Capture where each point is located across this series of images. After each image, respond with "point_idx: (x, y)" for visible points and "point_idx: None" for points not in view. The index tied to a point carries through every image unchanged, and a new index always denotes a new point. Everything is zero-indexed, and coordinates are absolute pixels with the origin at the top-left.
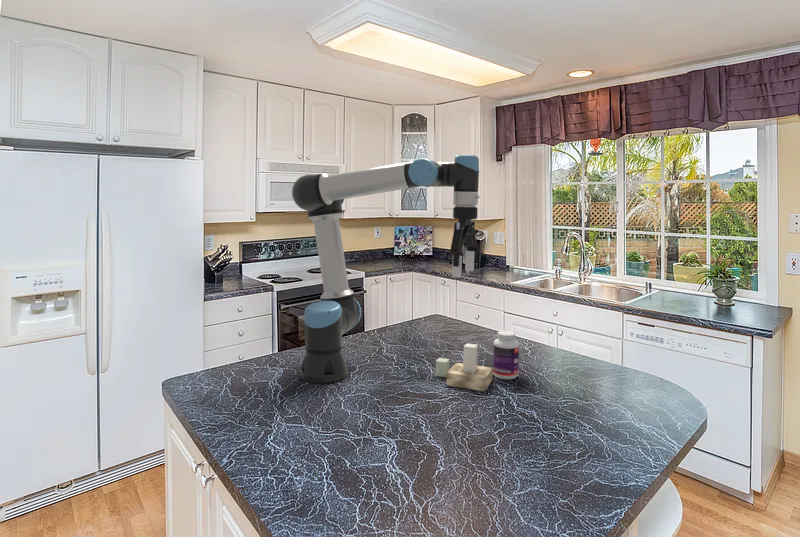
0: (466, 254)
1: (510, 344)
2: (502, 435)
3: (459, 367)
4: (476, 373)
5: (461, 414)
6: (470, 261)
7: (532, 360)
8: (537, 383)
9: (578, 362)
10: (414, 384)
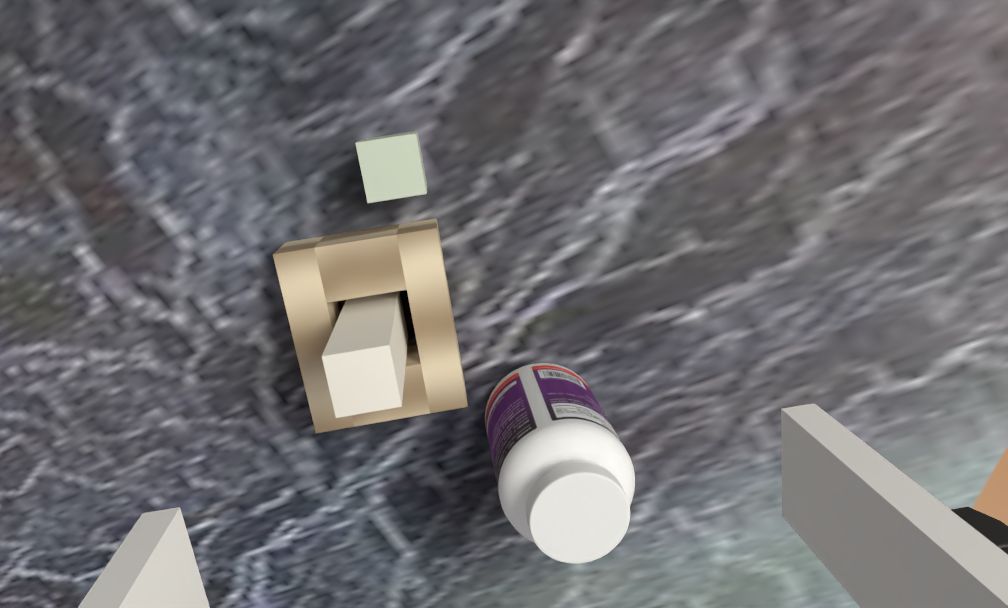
0: (961, 580)
1: (522, 532)
2: (17, 596)
3: (379, 274)
4: None
5: (61, 425)
6: (865, 567)
7: None
8: None
9: None
10: (196, 105)
